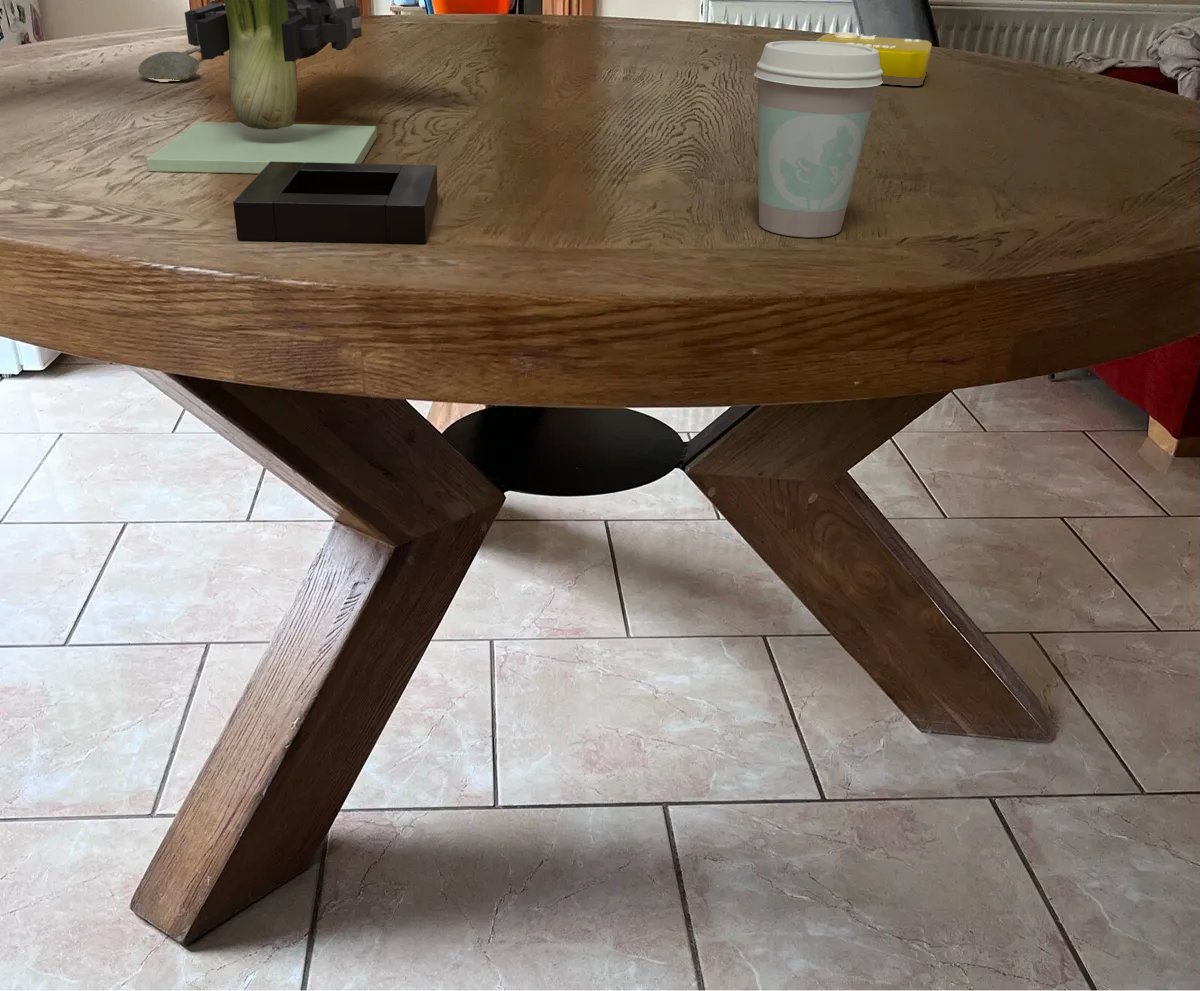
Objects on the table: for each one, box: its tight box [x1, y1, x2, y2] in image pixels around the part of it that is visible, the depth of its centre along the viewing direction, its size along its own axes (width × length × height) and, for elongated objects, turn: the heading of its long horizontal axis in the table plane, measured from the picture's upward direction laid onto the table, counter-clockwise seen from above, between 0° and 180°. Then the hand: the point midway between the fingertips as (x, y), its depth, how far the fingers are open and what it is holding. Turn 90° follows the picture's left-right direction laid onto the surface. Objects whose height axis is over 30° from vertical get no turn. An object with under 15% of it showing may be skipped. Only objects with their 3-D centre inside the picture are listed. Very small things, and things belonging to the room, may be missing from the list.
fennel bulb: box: [223, 0, 298, 130], centre depth 92 cm, size 6×5×12 cm
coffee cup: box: [753, 40, 883, 239], centre depth 77 cm, size 8×9×12 cm
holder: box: [232, 162, 439, 245], centre depth 77 cm, size 12×12×2 cm
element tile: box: [815, 31, 933, 78], centre depth 150 cm, size 15×15×5 cm
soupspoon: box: [137, 46, 201, 81], centre depth 135 cm, size 22×3×7 cm
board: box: [145, 121, 378, 175], centre depth 95 cm, size 16×16×1 cm
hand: (246, 41), depth 86 cm, fingers closed on fennel bulb, 6 cm apart
